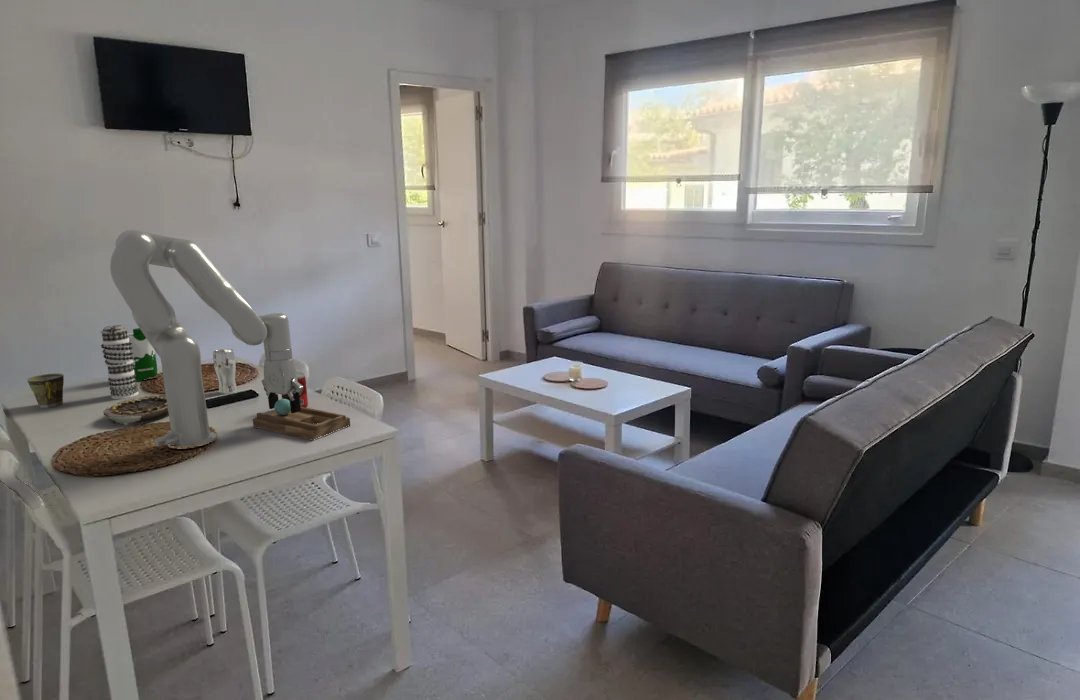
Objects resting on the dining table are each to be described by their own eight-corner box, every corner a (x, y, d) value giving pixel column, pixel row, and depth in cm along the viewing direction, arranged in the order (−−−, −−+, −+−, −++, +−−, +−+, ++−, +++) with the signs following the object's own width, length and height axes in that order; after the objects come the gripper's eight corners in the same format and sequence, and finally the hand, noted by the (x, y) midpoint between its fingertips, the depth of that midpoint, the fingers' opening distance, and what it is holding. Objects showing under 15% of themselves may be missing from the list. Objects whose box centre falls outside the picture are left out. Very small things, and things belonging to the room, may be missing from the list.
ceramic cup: (31, 405, 232) (25, 377, 229) (66, 399, 238) (61, 371, 236) (35, 413, 222) (29, 384, 220) (72, 407, 228) (66, 378, 226)
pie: (208, 412, 220) (206, 397, 219) (119, 438, 199) (116, 422, 197) (163, 399, 236) (161, 386, 235) (76, 423, 214) (73, 408, 213)
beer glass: (219, 390, 244) (213, 349, 241) (240, 388, 246) (234, 347, 243) (216, 395, 238) (210, 353, 235) (237, 393, 240) (232, 352, 237)
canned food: (312, 404, 225) (308, 372, 222) (301, 411, 217) (298, 378, 215) (290, 403, 226) (286, 372, 223) (278, 411, 218) (275, 378, 215)
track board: (313, 440, 190) (311, 428, 190) (253, 426, 203) (252, 415, 203) (350, 425, 202) (349, 413, 201) (291, 413, 215) (290, 402, 214)
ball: (282, 418, 203) (280, 402, 202) (271, 415, 205) (269, 400, 204) (296, 413, 207) (294, 397, 206) (285, 411, 209) (283, 395, 208)
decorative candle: (119, 400, 234) (107, 329, 229) (104, 397, 239) (92, 327, 233) (145, 393, 242) (134, 325, 237) (130, 390, 247) (119, 323, 241)
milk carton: (135, 383, 257) (126, 331, 253) (130, 378, 264) (122, 328, 259) (160, 378, 263) (153, 328, 258) (155, 374, 269) (148, 325, 265)
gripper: (249, 355, 203) (255, 409, 207) (288, 360, 194) (294, 417, 198) (270, 349, 209) (276, 402, 213) (308, 355, 200) (314, 410, 204)
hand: (285, 409), depth 205 cm, fingers open, 9 cm apart
